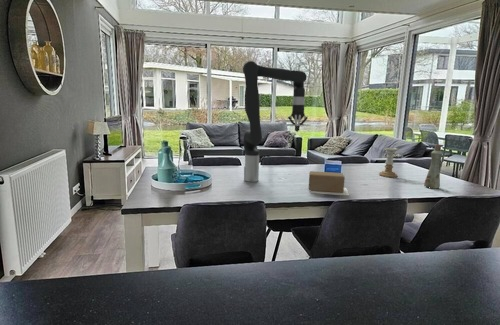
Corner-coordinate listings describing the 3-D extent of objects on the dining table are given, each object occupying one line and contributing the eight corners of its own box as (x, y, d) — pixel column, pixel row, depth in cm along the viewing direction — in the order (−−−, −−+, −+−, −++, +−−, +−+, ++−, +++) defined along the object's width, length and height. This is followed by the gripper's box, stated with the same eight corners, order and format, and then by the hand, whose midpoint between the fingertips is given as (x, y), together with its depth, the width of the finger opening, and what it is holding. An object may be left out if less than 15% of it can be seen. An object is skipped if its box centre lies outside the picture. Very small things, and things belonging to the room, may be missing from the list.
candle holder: (387, 173, 245) (390, 146, 242) (400, 176, 235) (404, 149, 231) (375, 174, 240) (378, 147, 236) (388, 178, 229) (391, 150, 225)
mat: (310, 192, 188) (310, 192, 188) (309, 185, 204) (310, 185, 204) (349, 195, 185) (349, 194, 185) (346, 188, 200) (346, 187, 200)
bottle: (431, 189, 202) (437, 145, 196) (420, 186, 210) (426, 143, 205) (443, 189, 204) (449, 145, 199) (431, 185, 213) (437, 143, 207)
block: (308, 190, 191) (343, 193, 188) (309, 174, 189) (344, 176, 186) (308, 186, 201) (341, 188, 197) (309, 170, 199) (343, 172, 195)
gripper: (287, 103, 203) (286, 131, 206) (309, 104, 201) (307, 132, 204) (288, 103, 210) (287, 130, 213) (309, 104, 208) (307, 131, 211)
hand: (297, 131), depth 209 cm, fingers closed
